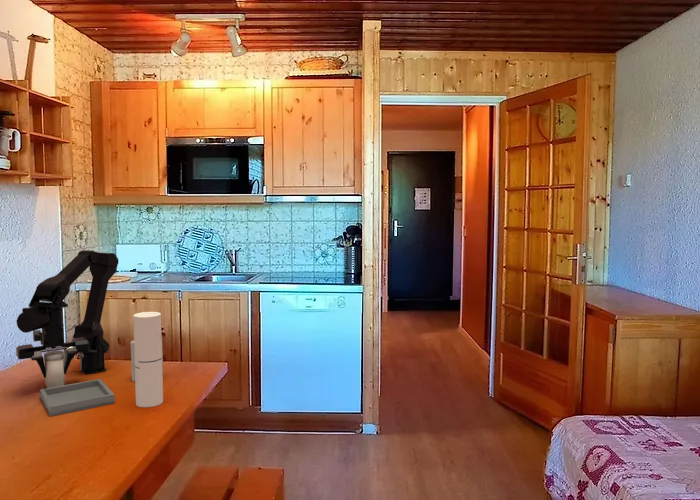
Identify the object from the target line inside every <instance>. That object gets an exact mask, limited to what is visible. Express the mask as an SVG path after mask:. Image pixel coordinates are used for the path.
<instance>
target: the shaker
mask: <svg viewBox="0 0 700 500" xmlns="http://www.w3.org/2000/svg"><path fill="white" fill-rule="evenodd" d="M43 359H44V365H45V371H46V378H44V379H45V380H44V381H45V388H52V387H58V386H63V385H66V382H65V381H66V380H65V375H64V350H56V351H49V352H43Z"/></svg>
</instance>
